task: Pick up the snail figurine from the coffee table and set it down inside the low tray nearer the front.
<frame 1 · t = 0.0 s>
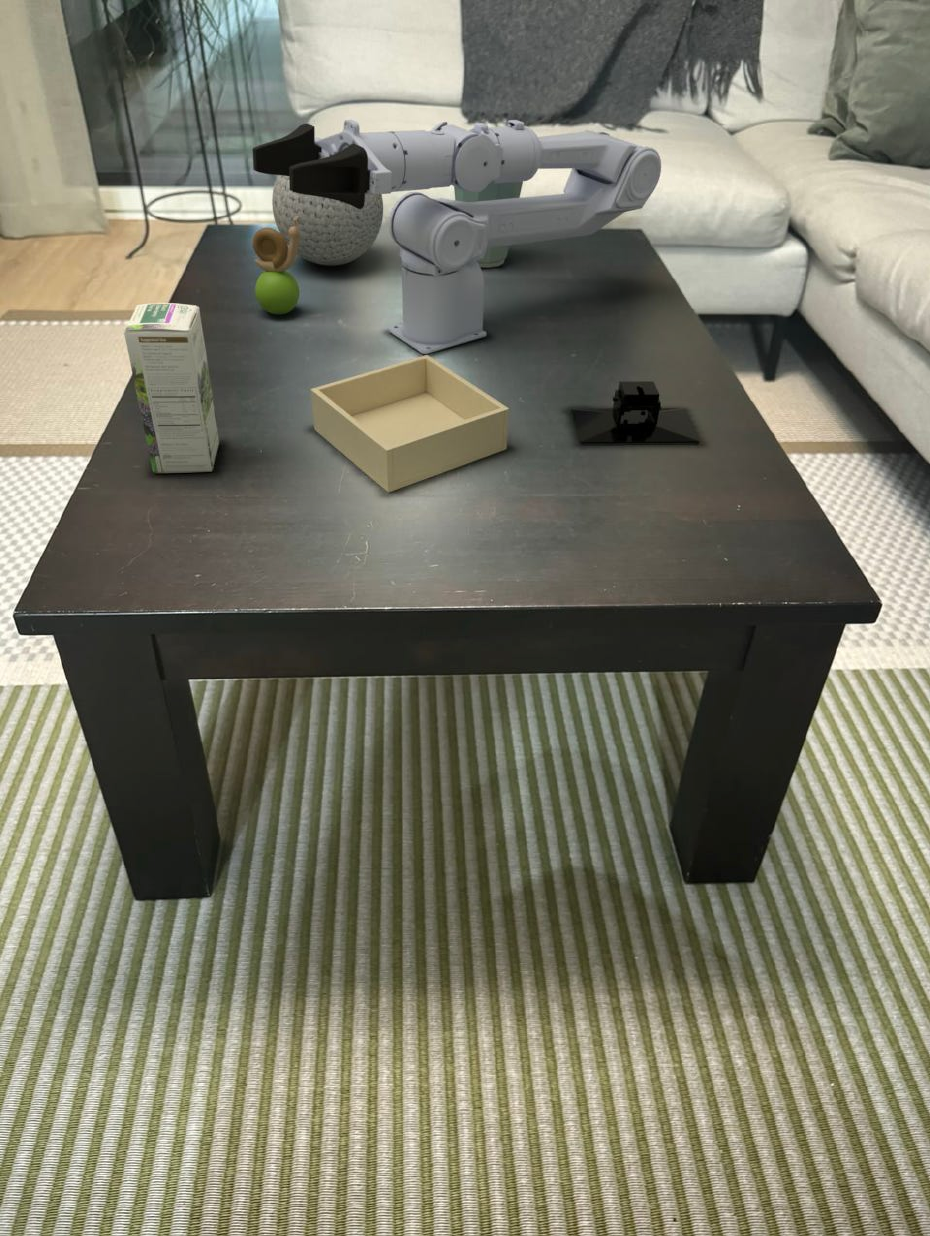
hand: (272, 169, 89), 22 cm above the table, tool horizontal, fingers open, 7 cm apart
tray: (409, 439, 94), on the table
syrup box: (189, 460, 90), on the table
disposable coffee cup: (485, 261, 132), on the table
snail figurine: (283, 314, 116), on the table
build plate: (632, 428, 97), on the table
decorative ball: (332, 263, 130), on the table
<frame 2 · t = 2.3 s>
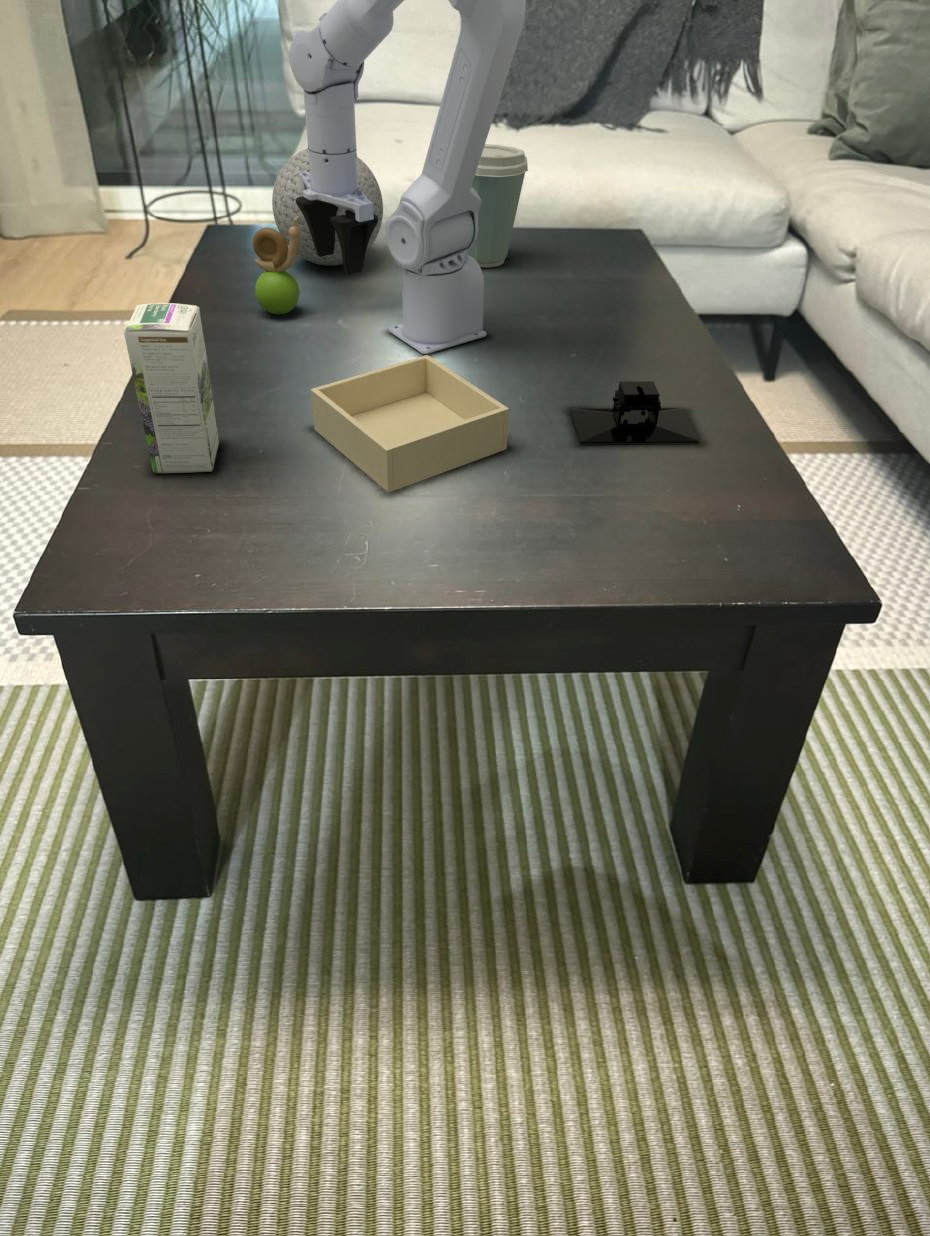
hand: (339, 263, 117), 5 cm above the table, tool pointing down, fingers open, 7 cm apart
decorative ball: (332, 263, 130), on the table, touching gripper
everything else where it was.
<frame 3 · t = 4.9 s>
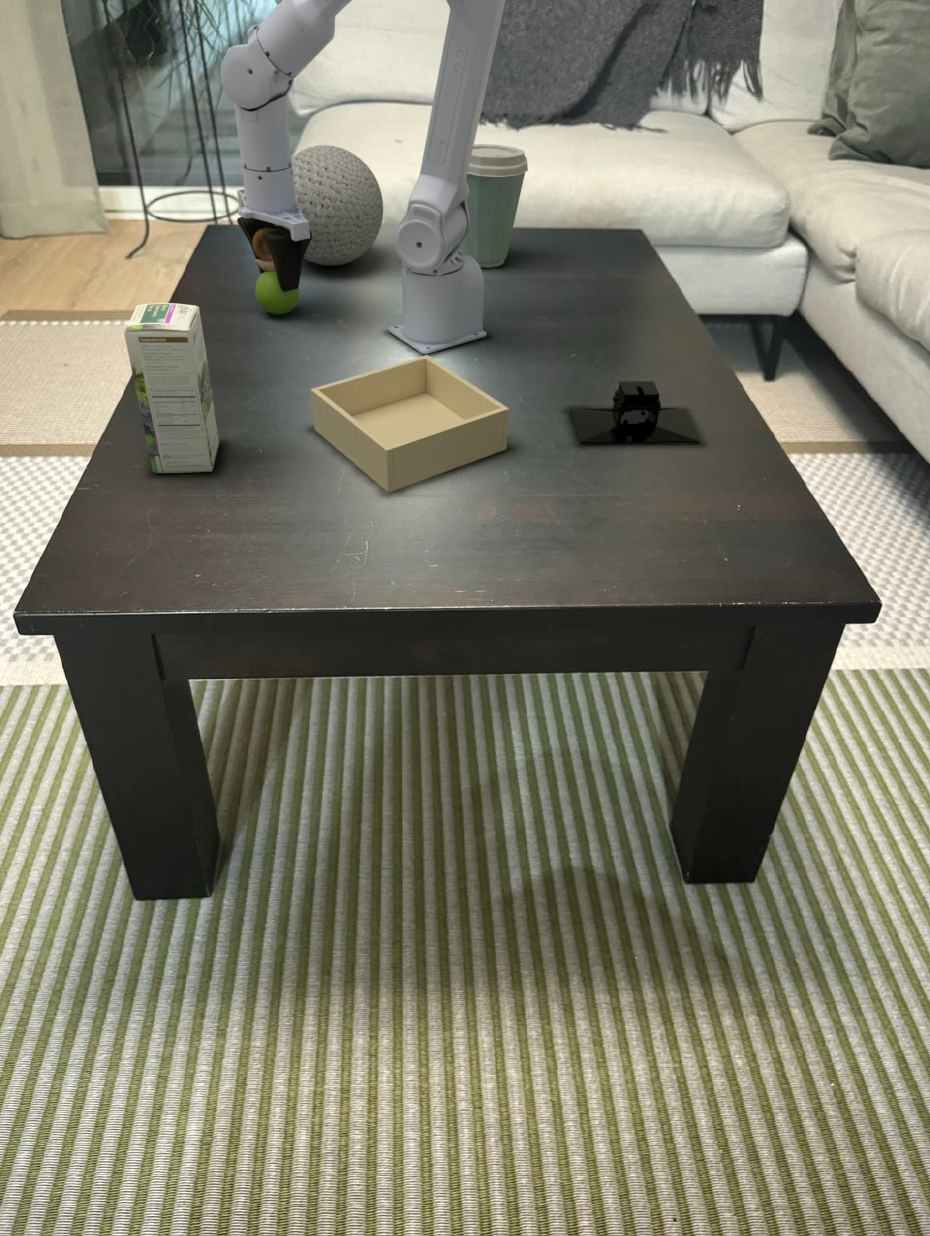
hand: (279, 282, 114), 4 cm above the table, tool pointing down, fingers closed on snail figurine, 4 cm apart
snail figurine: (283, 314, 116), on the table, touching gripper
decorative ball: (332, 263, 130), on the table
everything else where it was.
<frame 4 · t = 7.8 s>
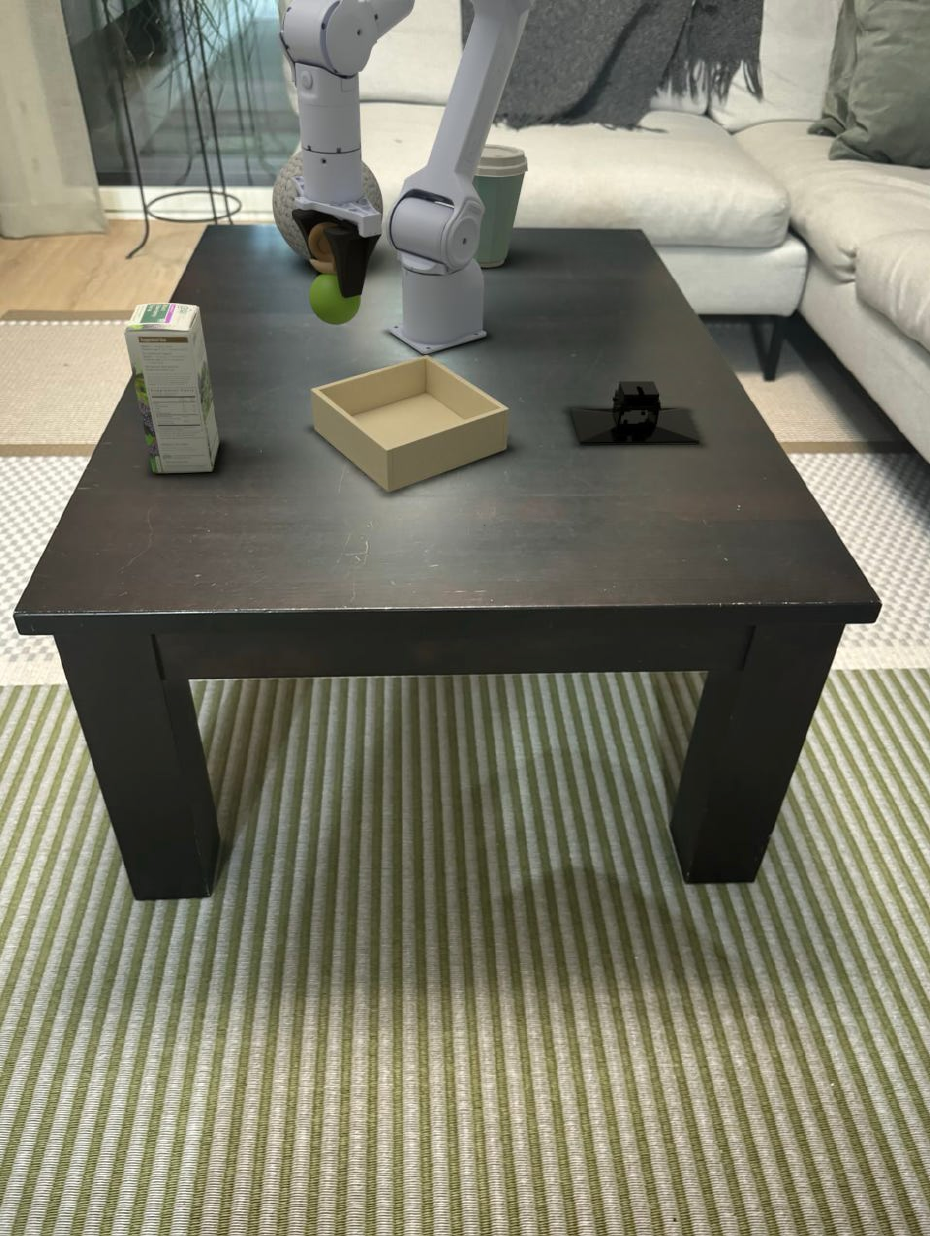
hand: (339, 287, 96), 10 cm above the table, tool pointing down, fingers closed on snail figurine, 4 cm apart
snail figurine: (341, 324, 99), point 6 cm above the table, touching gripper
everything else where it was.
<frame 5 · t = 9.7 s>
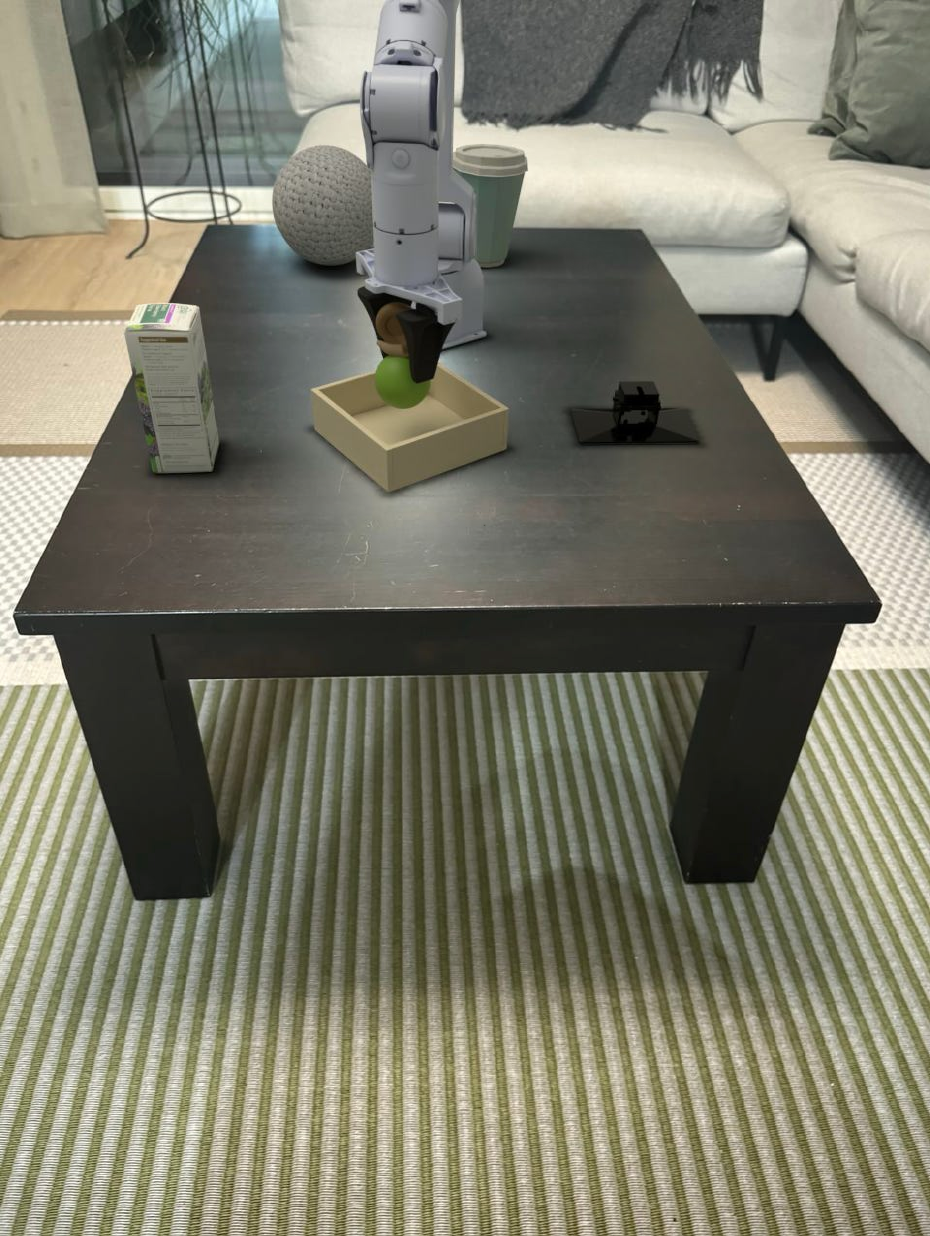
hand: (408, 369, 88), 8 cm above the table, tool pointing down, fingers closed on snail figurine, 4 cm apart
snail figurine: (408, 407, 91), point 4 cm above the table, touching gripper
everything else where it was.
when the fingers open (4 cm above the table, at t = 11.1 s): snail figurine stays where it is, resting on tray.
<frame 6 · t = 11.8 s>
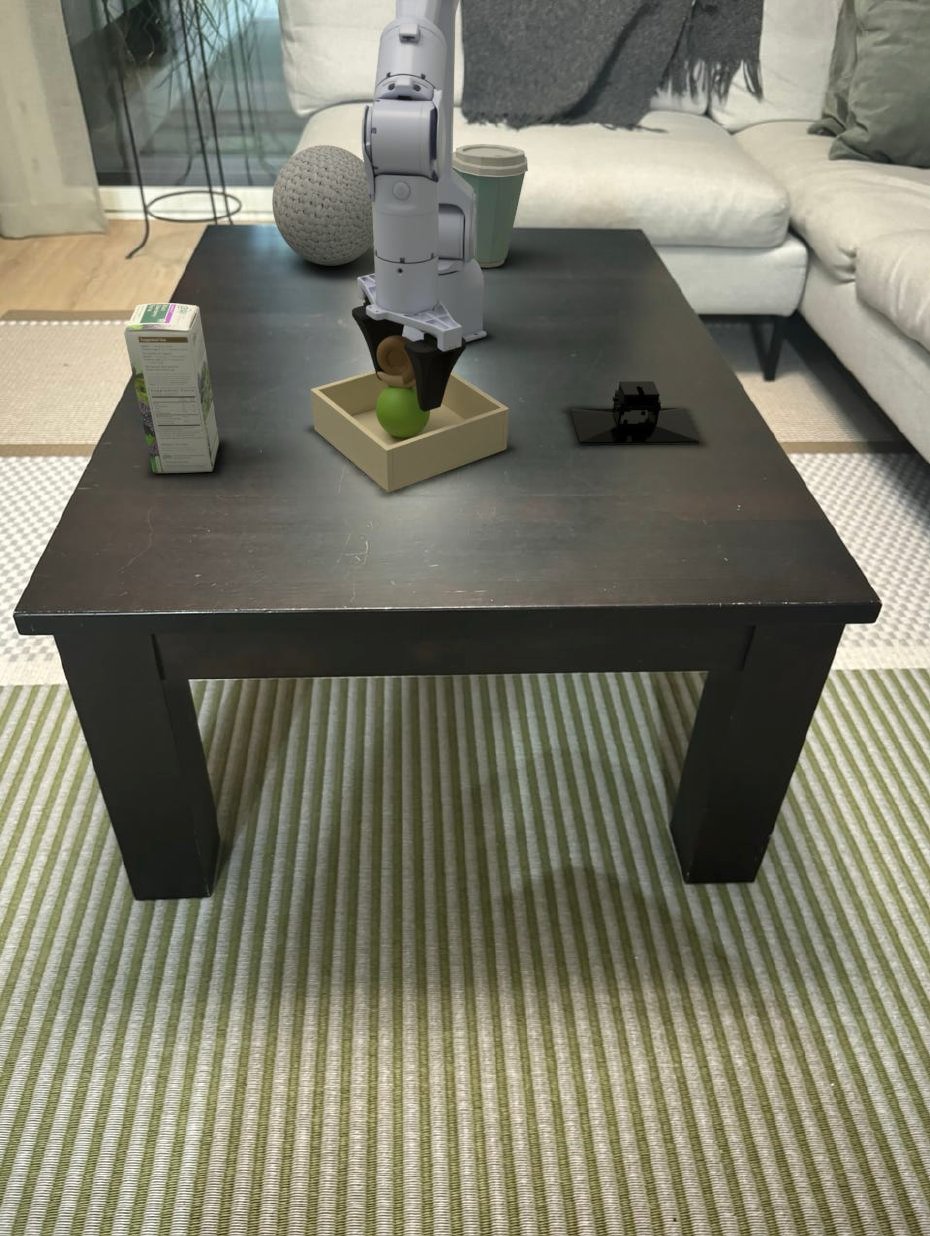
hand: (408, 392, 90), 5 cm above the table, tool pointing down, fingers open, 7 cm apart
snail figurine: (408, 436, 93), resting on tray
everything else where it was.
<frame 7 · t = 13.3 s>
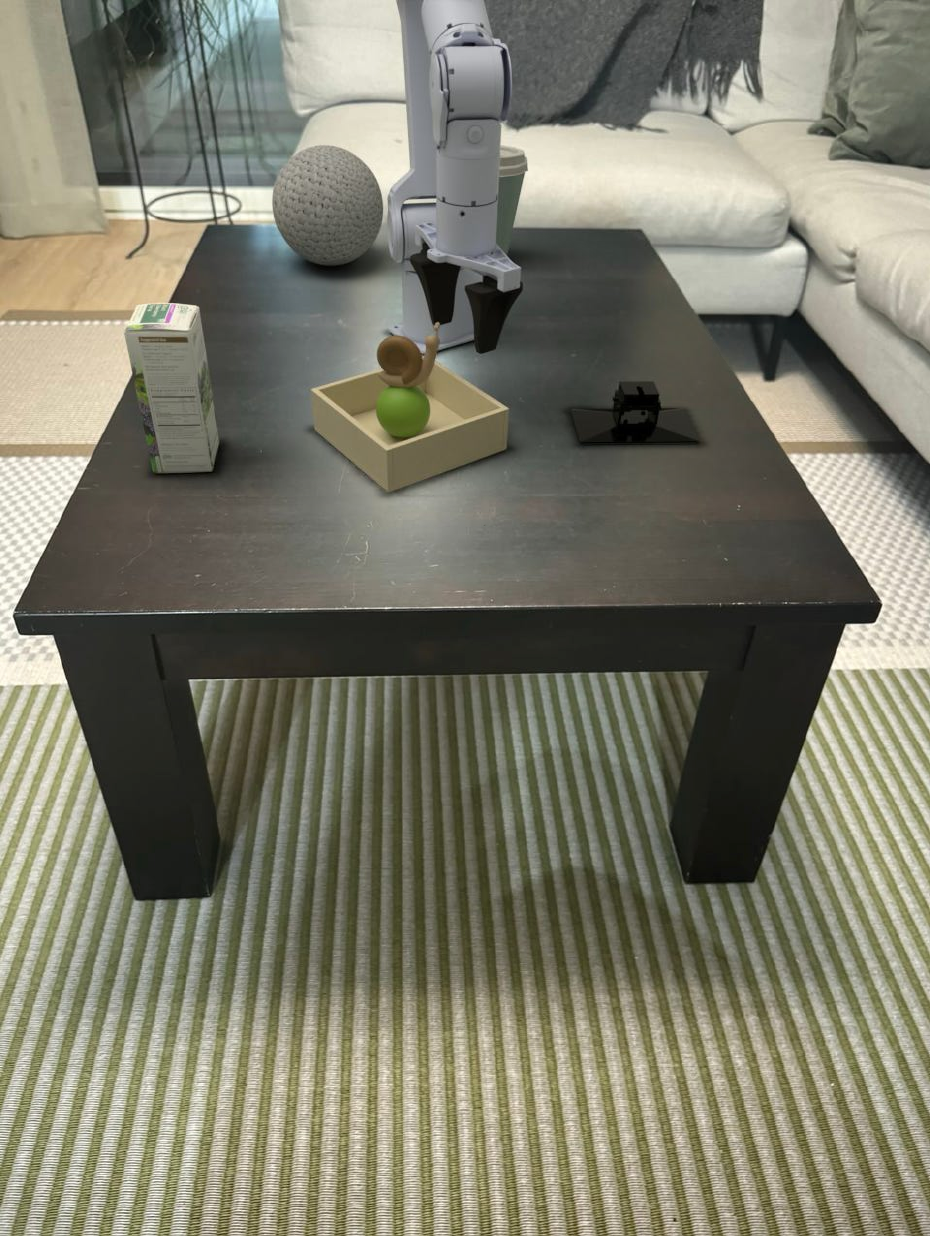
hand: (463, 336, 94), 8 cm above the table, tool pointing down, fingers open, 7 cm apart
nothing on the table moved.
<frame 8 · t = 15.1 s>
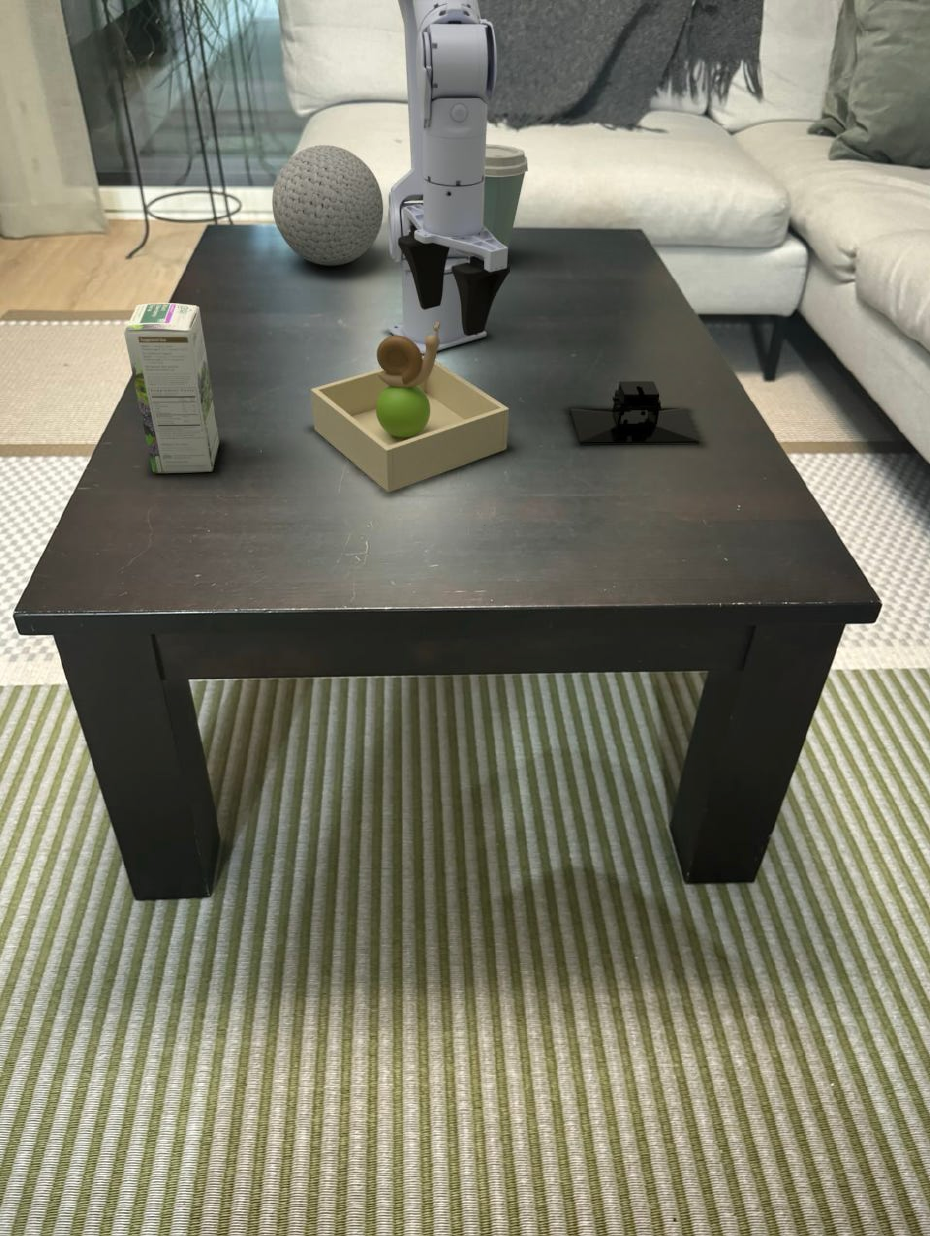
hand: (451, 319, 93), 9 cm above the table, tool pointing down, fingers open, 7 cm apart
nothing on the table moved.
at the end: snail figurine inside the target area in the tray (0.1 cm from its centre), point 0.4 cm above the tray's base; the gripper is holding nothing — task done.
